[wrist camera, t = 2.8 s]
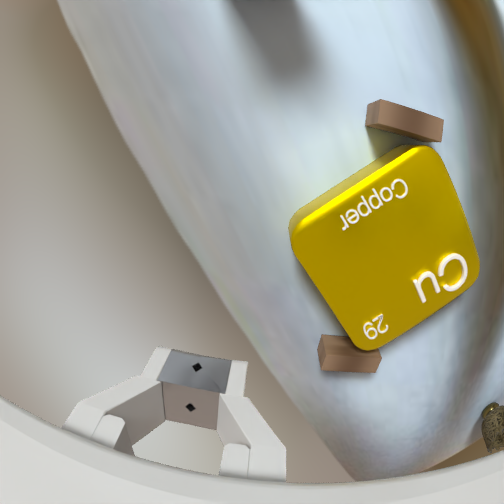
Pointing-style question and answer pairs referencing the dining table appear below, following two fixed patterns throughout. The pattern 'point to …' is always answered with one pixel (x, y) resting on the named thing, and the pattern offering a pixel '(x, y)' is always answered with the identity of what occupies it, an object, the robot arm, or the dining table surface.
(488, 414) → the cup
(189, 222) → the dining table surface
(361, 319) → the element tile
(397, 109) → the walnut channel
